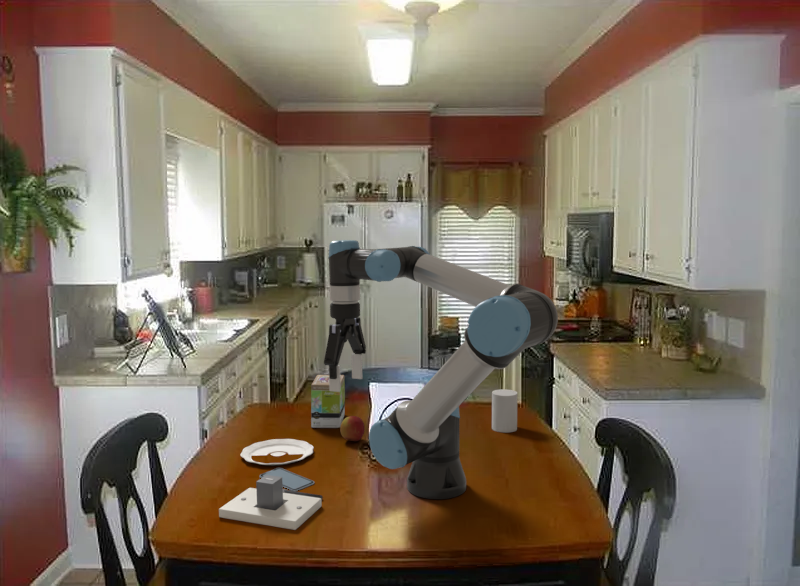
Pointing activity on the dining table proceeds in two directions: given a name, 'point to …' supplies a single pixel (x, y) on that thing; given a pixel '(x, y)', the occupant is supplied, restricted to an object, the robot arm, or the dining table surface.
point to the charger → (269, 492)
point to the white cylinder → (504, 410)
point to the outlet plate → (285, 516)
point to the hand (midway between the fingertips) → (346, 384)
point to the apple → (352, 428)
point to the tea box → (327, 403)
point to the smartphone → (290, 479)
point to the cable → (302, 494)
